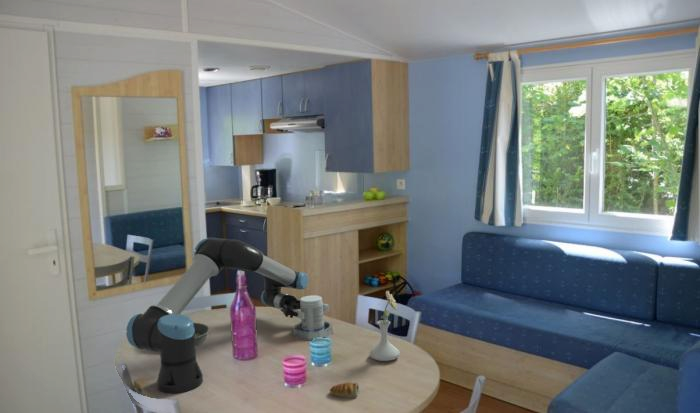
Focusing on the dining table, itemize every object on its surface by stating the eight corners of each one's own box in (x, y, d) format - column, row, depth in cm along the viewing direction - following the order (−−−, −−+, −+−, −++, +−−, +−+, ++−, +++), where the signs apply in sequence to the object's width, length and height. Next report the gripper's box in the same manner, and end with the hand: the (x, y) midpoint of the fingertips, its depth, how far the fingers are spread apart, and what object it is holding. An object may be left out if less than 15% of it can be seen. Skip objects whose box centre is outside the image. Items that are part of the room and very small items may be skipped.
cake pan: (201, 351, 228) (200, 341, 227) (140, 353, 229) (139, 342, 228) (216, 331, 252) (216, 321, 252) (161, 332, 253) (160, 322, 252)
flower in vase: (390, 366, 206) (388, 298, 203) (363, 360, 212) (361, 295, 209) (407, 354, 217) (405, 289, 214) (381, 348, 223) (379, 286, 220)
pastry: (328, 398, 183) (328, 387, 182) (331, 389, 189) (331, 378, 189) (357, 399, 182) (357, 387, 181) (360, 390, 188) (359, 378, 188)
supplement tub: (324, 327, 249) (323, 294, 247) (324, 334, 240) (322, 300, 238) (302, 328, 249) (300, 295, 247) (301, 335, 239) (299, 301, 238)
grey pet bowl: (339, 333, 242) (339, 326, 242) (305, 342, 233) (305, 335, 233) (320, 324, 256) (320, 317, 255) (287, 331, 247) (287, 325, 247)
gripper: (308, 304, 266) (338, 313, 251) (263, 317, 249) (293, 328, 234) (307, 288, 265) (337, 297, 250) (262, 300, 248) (292, 310, 233)
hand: (316, 312), depth 242 cm, fingers open, 13 cm apart
